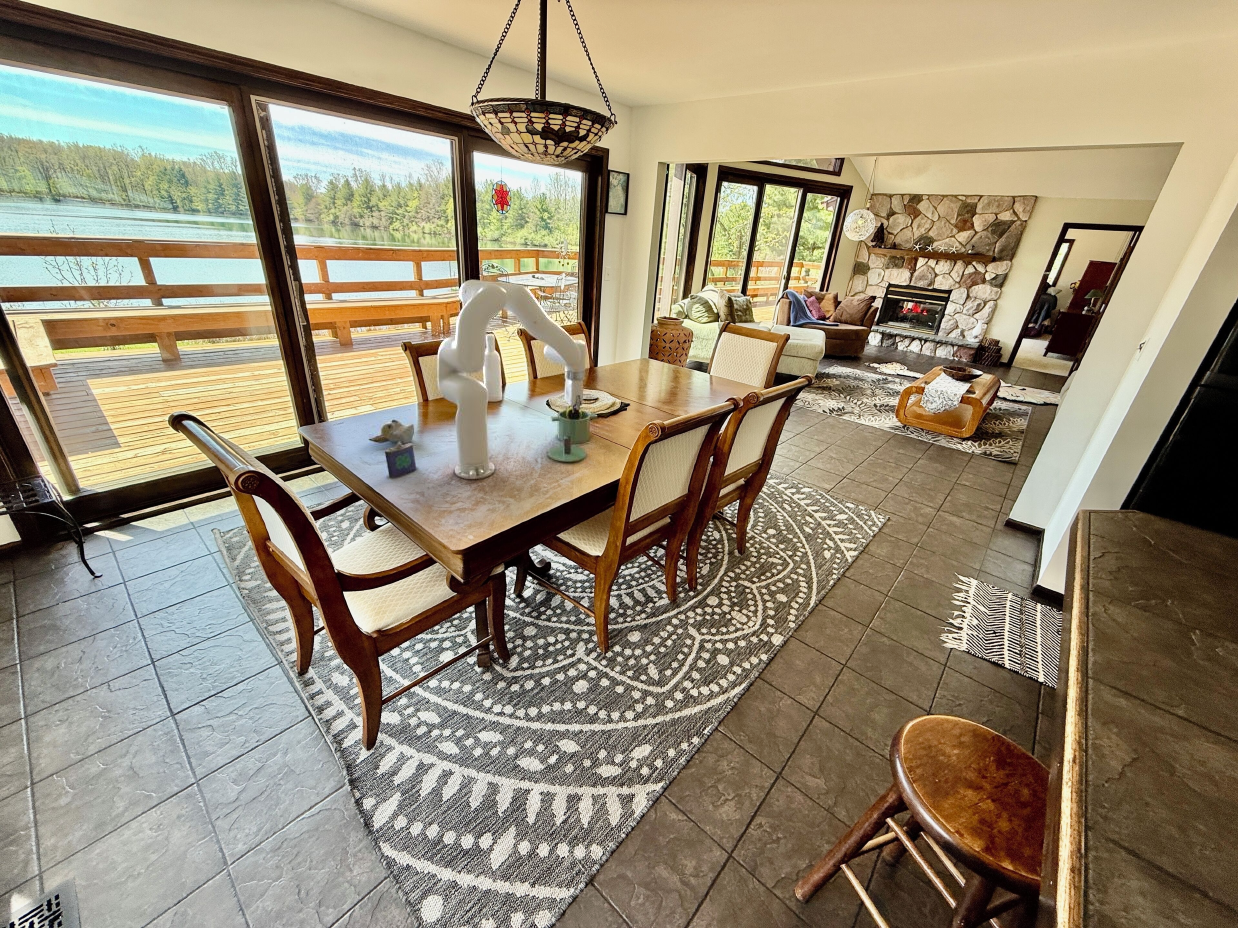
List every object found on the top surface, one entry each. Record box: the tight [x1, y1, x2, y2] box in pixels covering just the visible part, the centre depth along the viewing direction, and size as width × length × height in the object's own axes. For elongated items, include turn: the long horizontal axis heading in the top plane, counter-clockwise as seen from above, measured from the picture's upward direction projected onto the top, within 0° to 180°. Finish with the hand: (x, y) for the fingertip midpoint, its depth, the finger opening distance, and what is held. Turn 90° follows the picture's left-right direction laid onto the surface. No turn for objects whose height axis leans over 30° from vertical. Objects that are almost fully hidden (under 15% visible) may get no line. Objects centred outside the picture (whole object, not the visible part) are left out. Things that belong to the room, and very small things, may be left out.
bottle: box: [482, 333, 503, 403], centre depth 220 cm, size 8×8×30 cm
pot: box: [550, 409, 598, 445], centre depth 189 cm, size 13×18×10 cm
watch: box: [566, 406, 582, 420], centre depth 186 cm, size 6×3×6 cm, turn 94°
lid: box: [547, 436, 587, 463], centre depth 173 cm, size 14×14×7 cm
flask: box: [384, 441, 417, 479], centre depth 153 cm, size 9×3×11 cm, turn 144°
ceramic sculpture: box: [368, 419, 415, 444], centre depth 175 cm, size 11×9×15 cm
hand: (573, 420), depth 187 cm, fingers closed on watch, 2 cm apart
